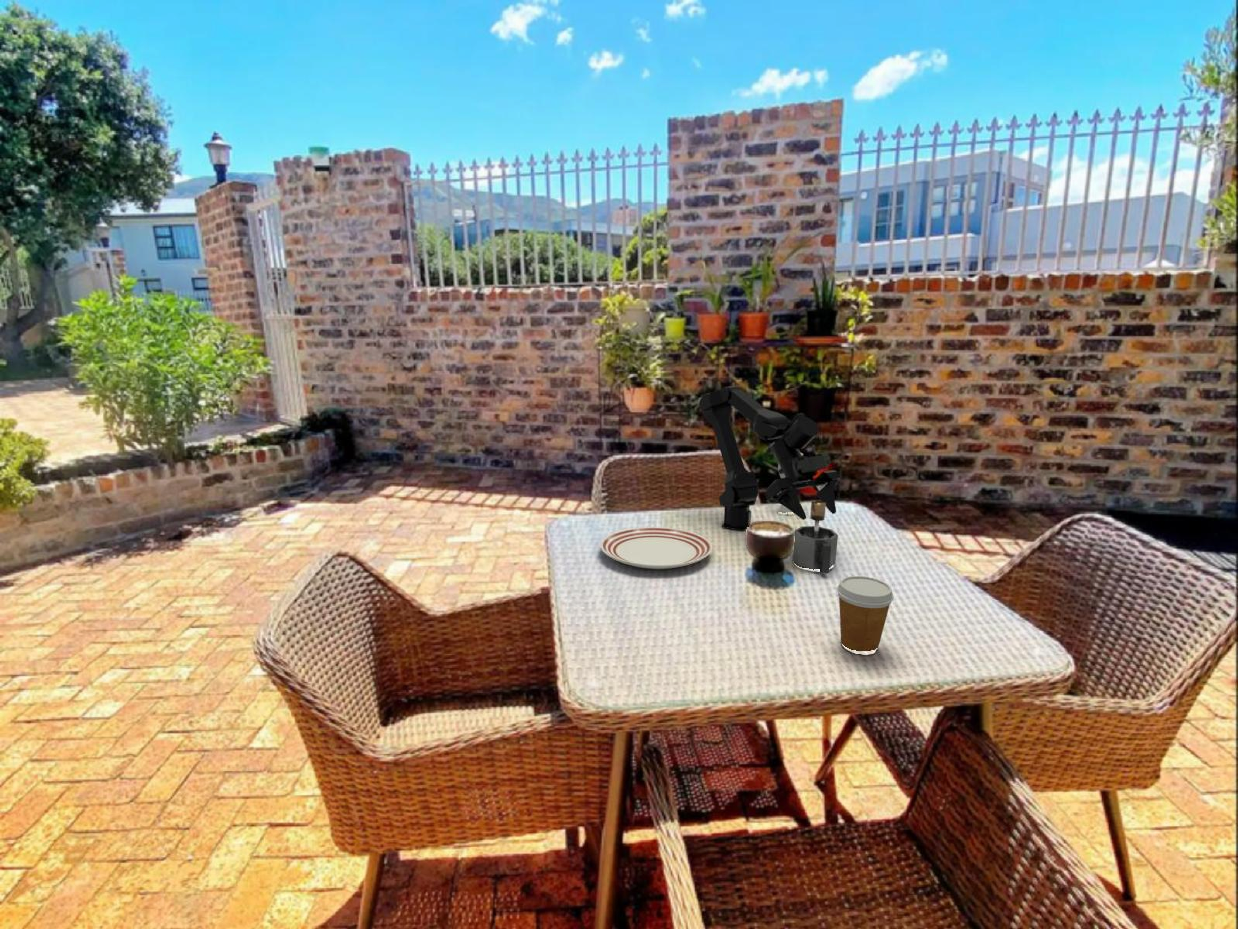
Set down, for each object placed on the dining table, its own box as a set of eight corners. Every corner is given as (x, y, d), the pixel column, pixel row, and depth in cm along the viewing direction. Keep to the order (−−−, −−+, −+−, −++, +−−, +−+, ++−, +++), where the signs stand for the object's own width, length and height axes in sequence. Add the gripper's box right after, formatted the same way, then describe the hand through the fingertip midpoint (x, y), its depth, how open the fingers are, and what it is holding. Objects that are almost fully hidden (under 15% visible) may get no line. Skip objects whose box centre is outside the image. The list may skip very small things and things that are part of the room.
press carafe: (788, 557, 158) (790, 526, 156) (824, 556, 158) (827, 525, 156) (805, 577, 146) (808, 544, 144) (844, 576, 147) (847, 543, 145)
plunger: (797, 548, 151) (800, 504, 148) (802, 539, 157) (806, 496, 154) (827, 553, 148) (831, 508, 145) (832, 543, 154) (835, 500, 151)
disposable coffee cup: (843, 628, 124) (848, 570, 121) (894, 645, 118) (901, 584, 115) (823, 648, 117) (828, 587, 114) (877, 667, 111) (884, 603, 108)
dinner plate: (599, 536, 172) (599, 524, 171) (701, 535, 173) (702, 523, 172) (601, 579, 146) (601, 566, 145) (721, 578, 147) (722, 564, 146)
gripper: (777, 445, 146) (808, 504, 140) (838, 437, 155) (870, 493, 148) (753, 470, 155) (781, 528, 148) (812, 462, 163) (841, 516, 157)
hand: (819, 516), depth 150 cm, fingers open, 9 cm apart
